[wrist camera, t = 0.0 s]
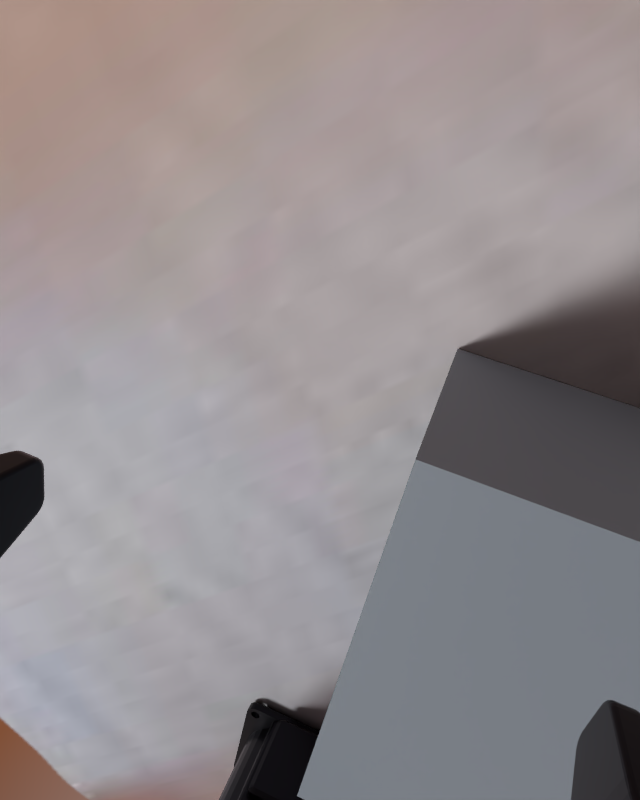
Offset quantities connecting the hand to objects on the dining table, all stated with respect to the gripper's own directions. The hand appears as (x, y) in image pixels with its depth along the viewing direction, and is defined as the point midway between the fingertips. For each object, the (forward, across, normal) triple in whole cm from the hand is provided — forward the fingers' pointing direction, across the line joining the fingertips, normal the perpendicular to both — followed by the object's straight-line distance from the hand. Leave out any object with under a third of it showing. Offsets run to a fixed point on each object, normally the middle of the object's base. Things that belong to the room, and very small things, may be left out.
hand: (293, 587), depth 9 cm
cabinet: (+15, -5, +9) cm, 18 cm away
